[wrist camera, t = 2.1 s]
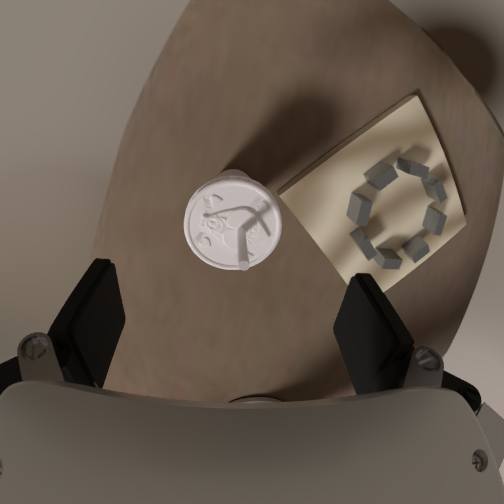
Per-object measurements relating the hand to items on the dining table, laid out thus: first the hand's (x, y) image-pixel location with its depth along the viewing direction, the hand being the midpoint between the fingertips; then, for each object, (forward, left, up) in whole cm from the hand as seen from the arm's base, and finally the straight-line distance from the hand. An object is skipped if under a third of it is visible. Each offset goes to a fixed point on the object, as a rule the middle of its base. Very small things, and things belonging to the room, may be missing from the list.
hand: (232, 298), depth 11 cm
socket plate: (-12, -12, -18) cm, 24 cm away
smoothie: (0, 0, -18) cm, 18 cm away
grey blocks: (-12, -12, -16) cm, 23 cm away
